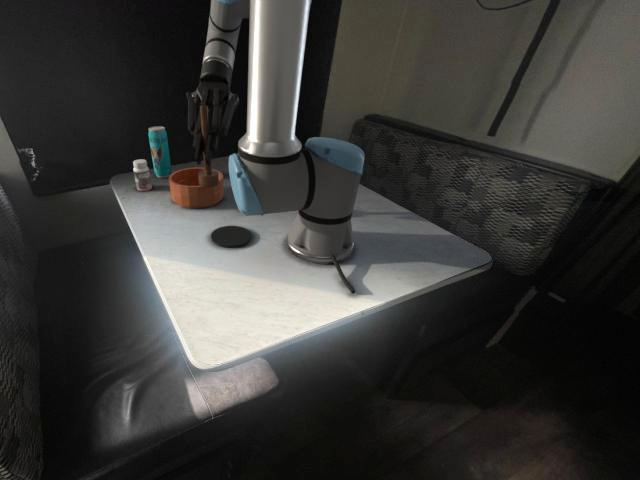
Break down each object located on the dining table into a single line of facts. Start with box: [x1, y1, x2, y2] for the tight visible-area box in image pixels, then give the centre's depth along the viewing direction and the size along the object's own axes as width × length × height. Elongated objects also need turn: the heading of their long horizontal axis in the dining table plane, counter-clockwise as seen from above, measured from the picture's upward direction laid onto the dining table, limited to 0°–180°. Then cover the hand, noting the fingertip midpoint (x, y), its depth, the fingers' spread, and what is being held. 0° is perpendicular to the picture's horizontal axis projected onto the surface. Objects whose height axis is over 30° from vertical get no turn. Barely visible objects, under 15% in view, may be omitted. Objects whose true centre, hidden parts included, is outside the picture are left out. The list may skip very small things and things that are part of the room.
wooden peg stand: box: [198, 104, 219, 188], centre depth 82 cm, size 5×5×18 cm
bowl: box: [168, 167, 225, 209], centre depth 98 cm, size 16×16×6 cm
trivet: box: [210, 225, 252, 249], centre depth 82 cm, size 10×10×1 cm
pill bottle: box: [132, 158, 153, 191], centre depth 104 cm, size 5×5×8 cm
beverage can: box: [148, 125, 172, 179], centre depth 110 cm, size 6×6×15 cm
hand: (202, 161), depth 80 cm, fingers closed on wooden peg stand, 2 cm apart
